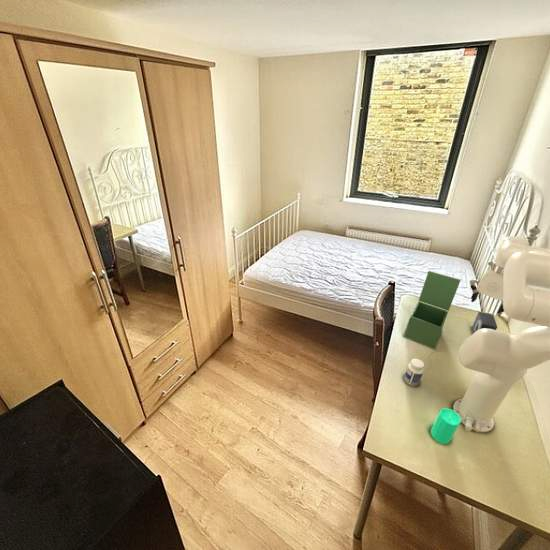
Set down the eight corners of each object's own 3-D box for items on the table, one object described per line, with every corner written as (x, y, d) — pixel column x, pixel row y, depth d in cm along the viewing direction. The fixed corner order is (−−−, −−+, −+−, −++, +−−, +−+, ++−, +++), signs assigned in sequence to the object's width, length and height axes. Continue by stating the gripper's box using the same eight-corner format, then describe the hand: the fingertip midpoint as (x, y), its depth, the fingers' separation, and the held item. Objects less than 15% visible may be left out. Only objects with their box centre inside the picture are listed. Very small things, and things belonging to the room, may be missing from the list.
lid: (460, 280, 131) (460, 279, 132) (428, 271, 138) (428, 270, 139) (448, 310, 139) (448, 310, 139) (418, 300, 145) (418, 300, 146)
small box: (470, 327, 148) (478, 310, 143) (485, 330, 146) (493, 314, 141) (473, 340, 140) (481, 323, 134) (489, 344, 138) (498, 327, 132)
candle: (452, 434, 99) (464, 412, 93) (447, 447, 95) (459, 425, 89) (434, 423, 103) (444, 401, 97) (428, 435, 99) (438, 413, 93)
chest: (434, 348, 134) (442, 328, 128) (403, 336, 141) (410, 316, 135) (440, 330, 145) (448, 311, 139) (412, 320, 152) (418, 301, 146)
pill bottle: (420, 378, 119) (426, 361, 114) (417, 388, 115) (424, 371, 110) (405, 372, 122) (411, 355, 117) (402, 382, 118) (408, 364, 113)
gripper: (474, 263, 113) (459, 299, 121) (527, 281, 101) (507, 321, 109) (482, 258, 117) (467, 294, 125) (534, 275, 105) (514, 314, 113)
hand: (486, 306), depth 117 cm, fingers open, 9 cm apart
